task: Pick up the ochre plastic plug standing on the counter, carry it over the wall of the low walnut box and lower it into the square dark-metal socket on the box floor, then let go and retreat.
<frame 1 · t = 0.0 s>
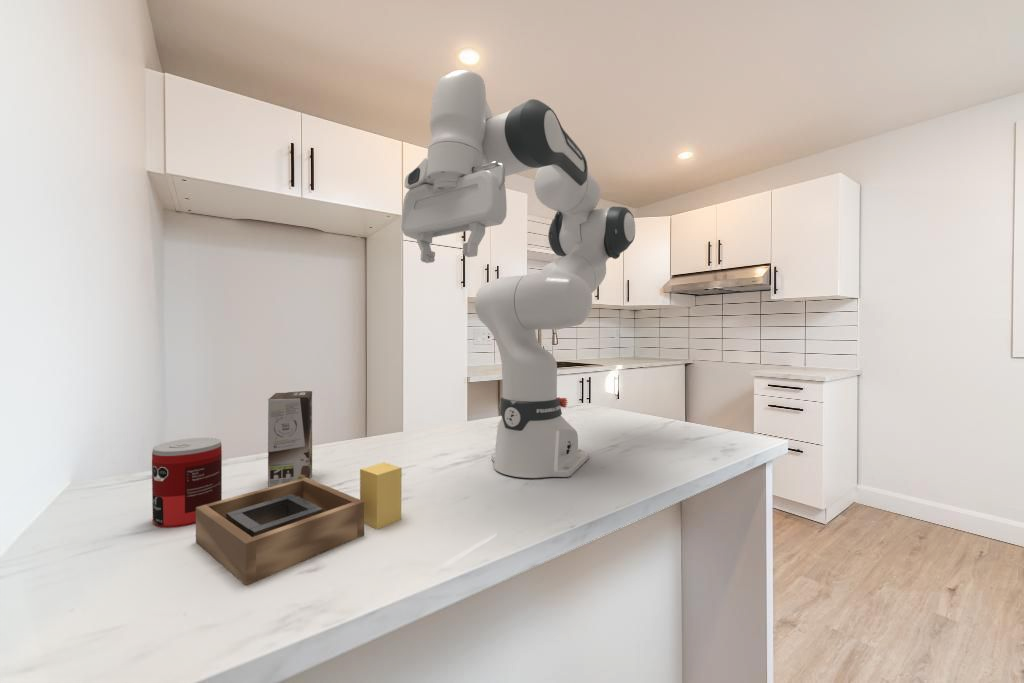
hand: (447, 259, 66), 39 cm above the counter, tool pointing down, fingers open, 8 cm apart
canned food: (188, 521, 60), on the counter
plug: (380, 524, 59), on the counter
socket: (275, 542, 53), resting on walled box
walled box: (281, 542, 54), on the counter
coffee box: (291, 485, 75), on the counter
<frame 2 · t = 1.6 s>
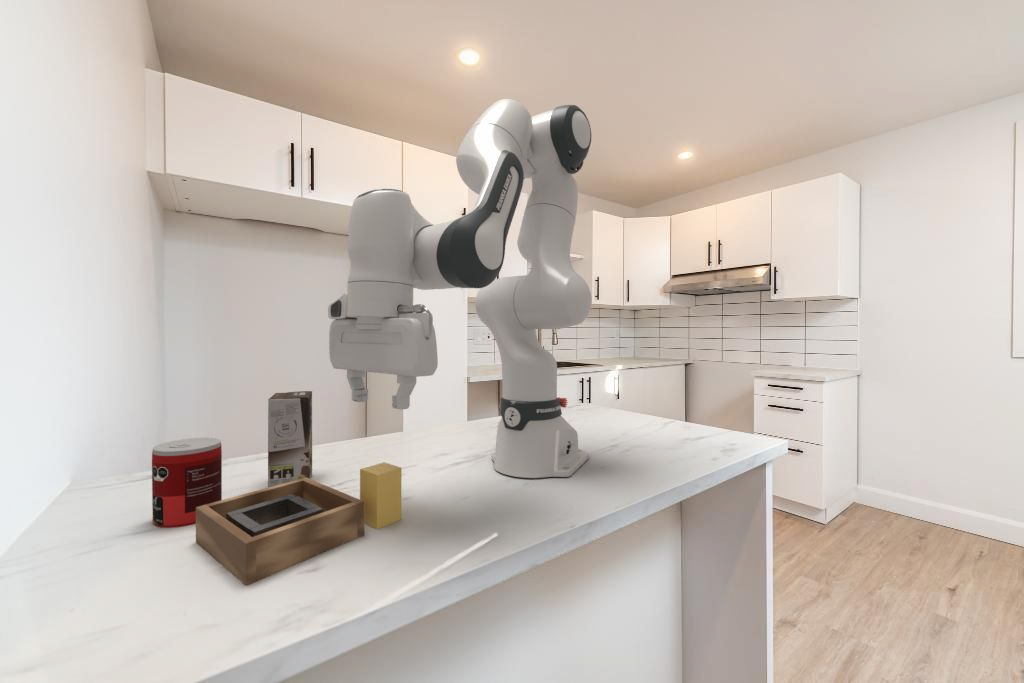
hand: (379, 404, 59), 17 cm above the counter, tool pointing down, fingers open, 8 cm apart
nothing on the counter moved.
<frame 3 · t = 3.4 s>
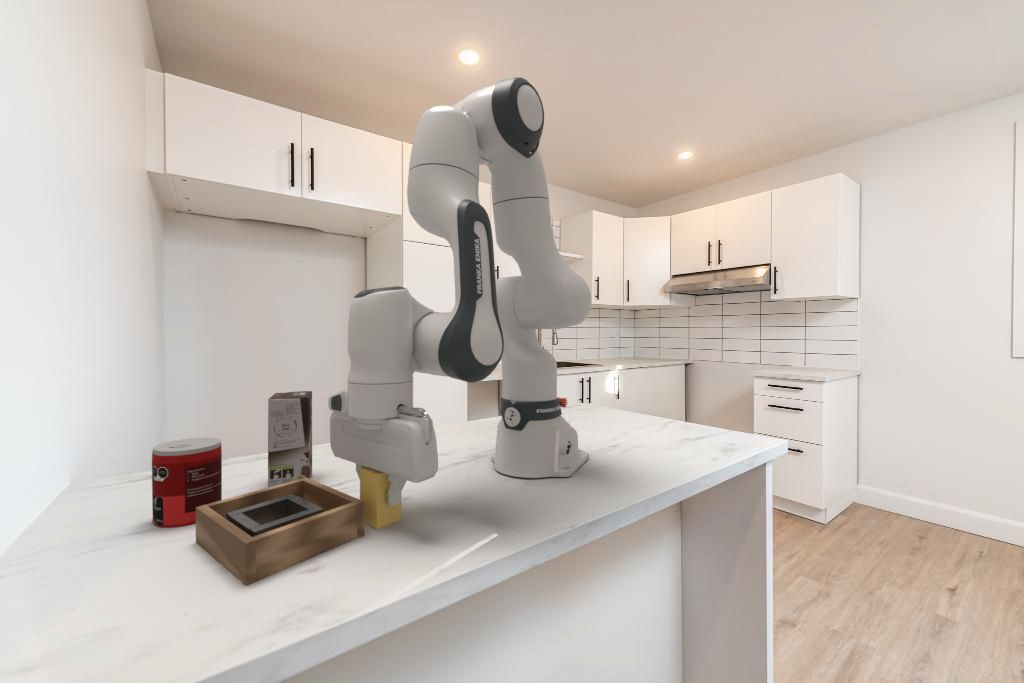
hand: (380, 498, 59), 4 cm above the counter, tool pointing down, fingers closed on plug, 4 cm apart
plug: (380, 524, 59), on the counter, touching gripper
everything else where it was.
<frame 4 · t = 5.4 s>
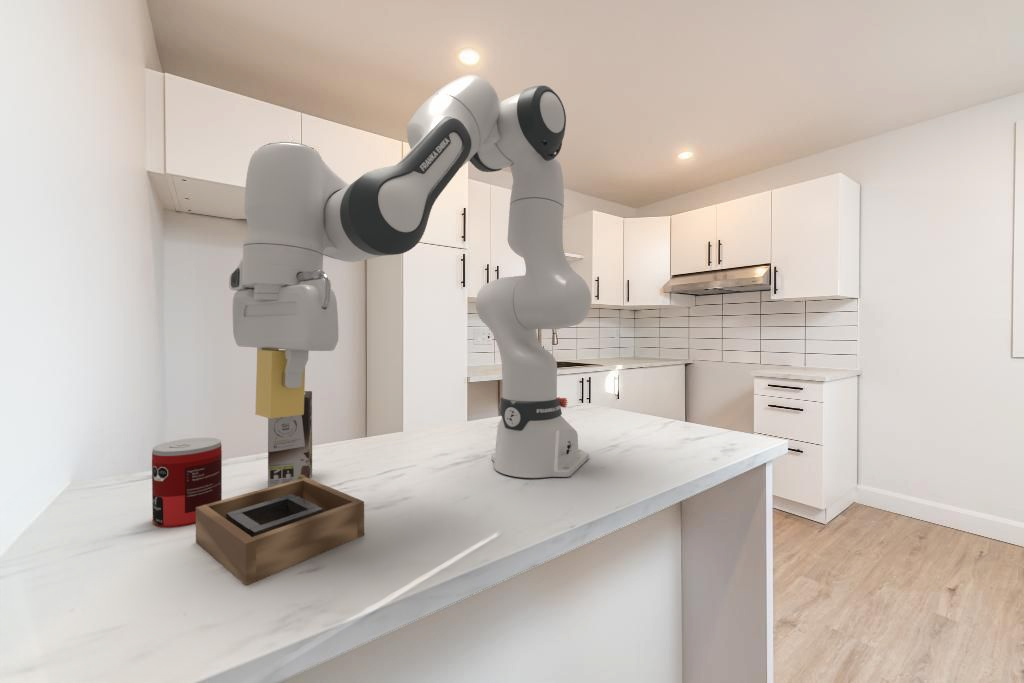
hand: (280, 385, 53), 20 cm above the counter, tool pointing down, fingers closed on plug, 4 cm apart
plug: (279, 414, 53), point 17 cm above the counter, touching gripper
everything else where it was.
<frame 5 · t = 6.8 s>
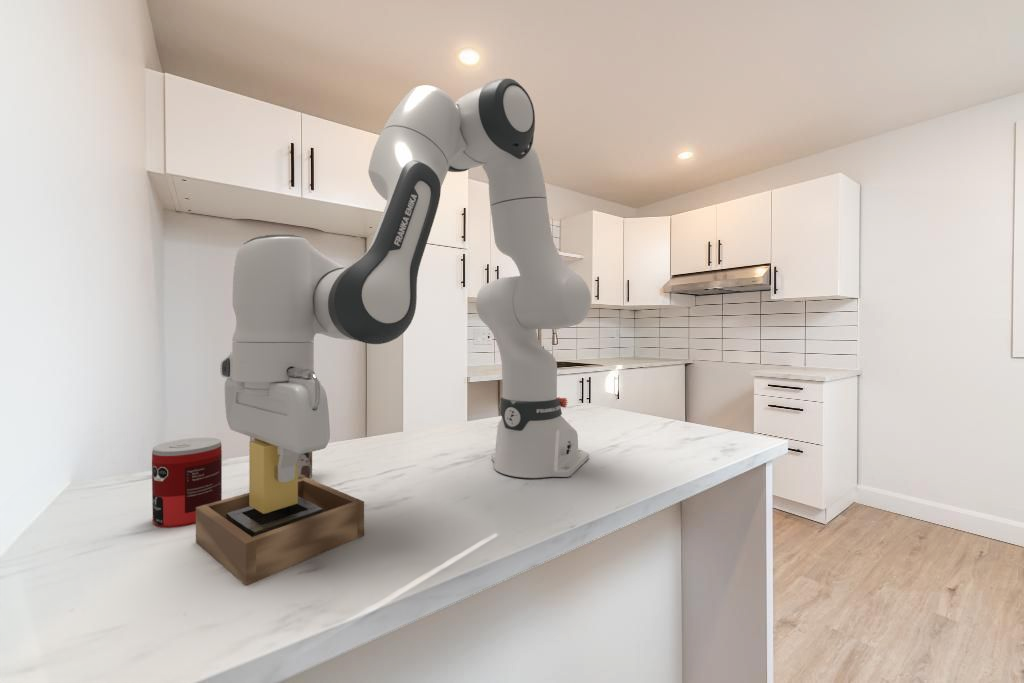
hand: (274, 475, 53), 9 cm above the counter, tool pointing down, fingers closed on plug, 4 cm apart
plug: (273, 504, 53), point 5 cm above the counter, touching gripper
everything else where it was.
when the fingers open (6 cm above the counter, at t = 7.8 s): plug drops 1 cm, resting on walled box.
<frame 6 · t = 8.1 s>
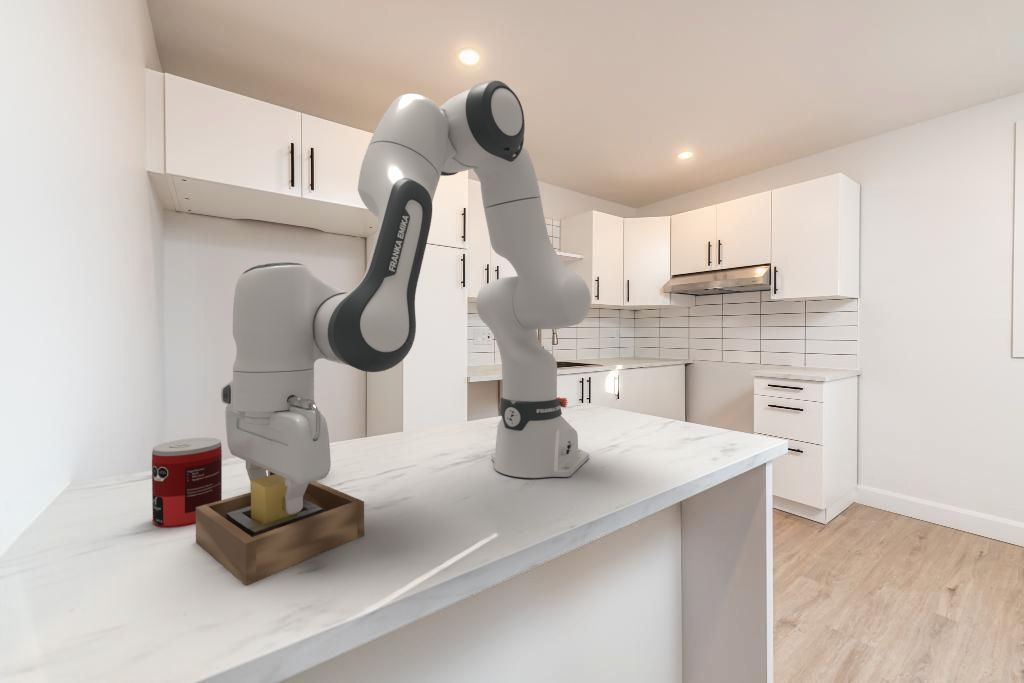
hand: (275, 502, 53), 6 cm above the counter, tool pointing down, fingers open, 7 cm apart
plug: (275, 542, 53), point 1 cm above the counter, touching walled box
everything else where it was.
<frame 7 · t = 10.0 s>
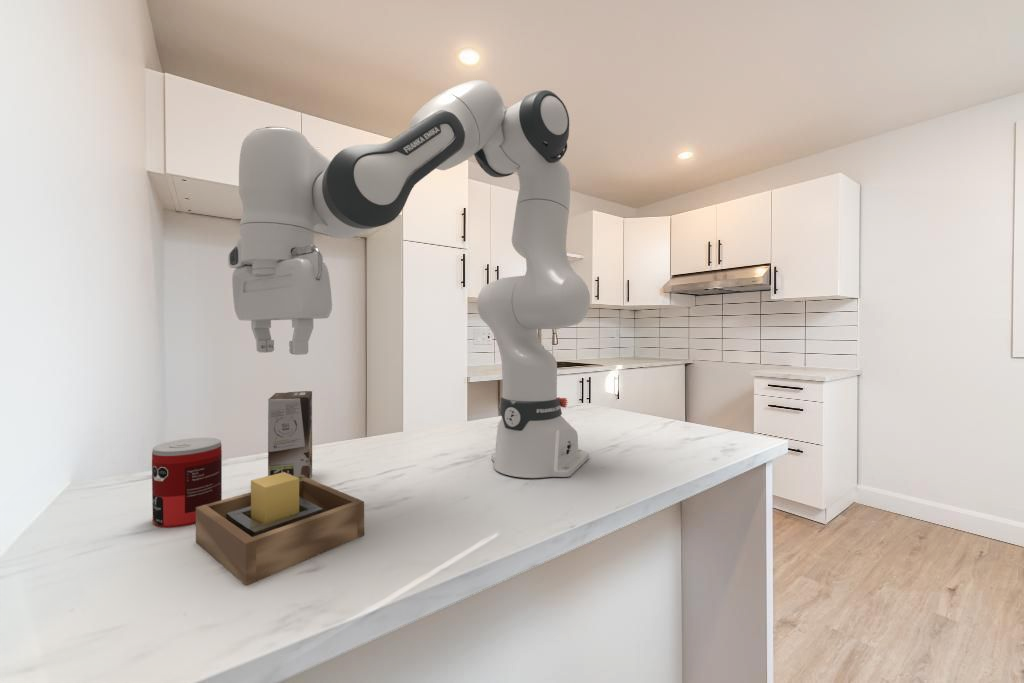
hand: (281, 353, 58), 24 cm above the counter, tool pointing down, fingers open, 8 cm apart
nothing on the counter moved.
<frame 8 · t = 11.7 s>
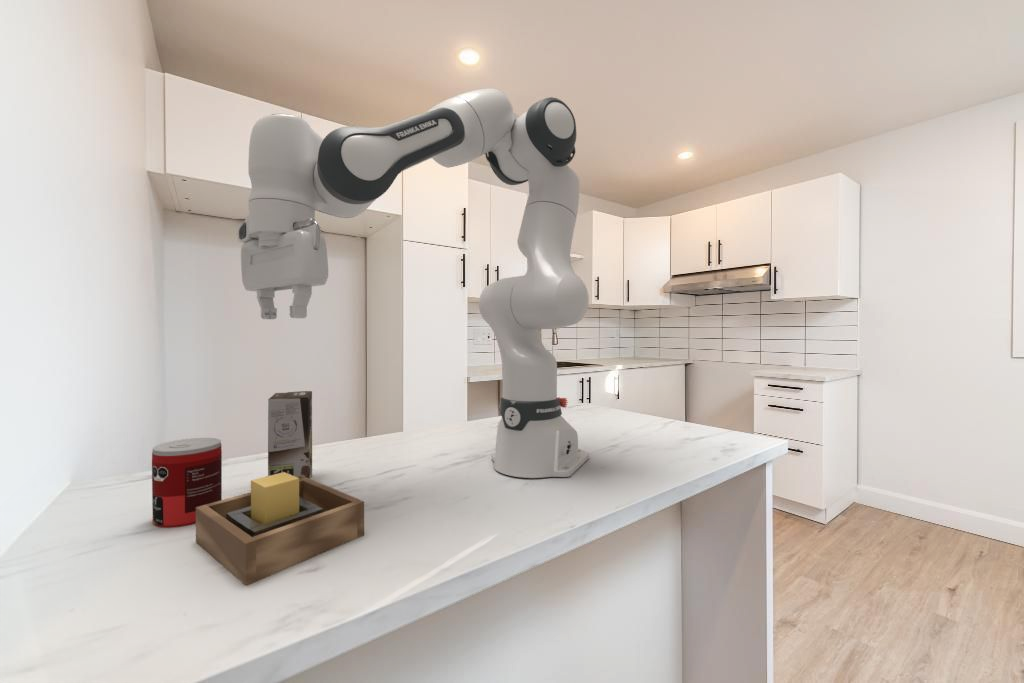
hand: (282, 318, 64), 29 cm above the counter, tool pointing down, fingers open, 8 cm apart
nothing on the counter moved.
at the end: plug 0.0 cm from the target spot, point 0.6 cm above the counter; plug tilted 0°; the gripper is holding nothing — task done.
